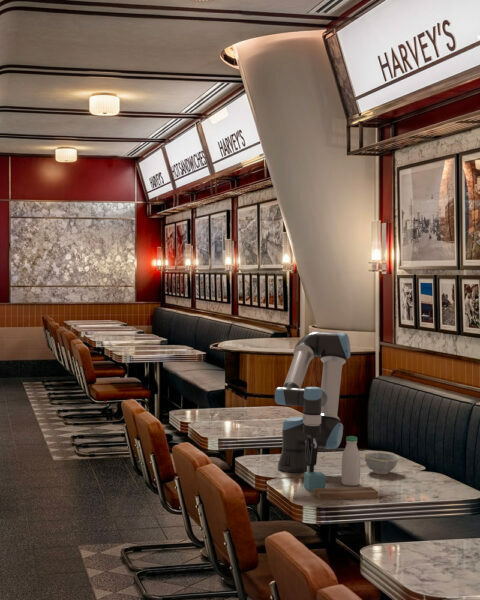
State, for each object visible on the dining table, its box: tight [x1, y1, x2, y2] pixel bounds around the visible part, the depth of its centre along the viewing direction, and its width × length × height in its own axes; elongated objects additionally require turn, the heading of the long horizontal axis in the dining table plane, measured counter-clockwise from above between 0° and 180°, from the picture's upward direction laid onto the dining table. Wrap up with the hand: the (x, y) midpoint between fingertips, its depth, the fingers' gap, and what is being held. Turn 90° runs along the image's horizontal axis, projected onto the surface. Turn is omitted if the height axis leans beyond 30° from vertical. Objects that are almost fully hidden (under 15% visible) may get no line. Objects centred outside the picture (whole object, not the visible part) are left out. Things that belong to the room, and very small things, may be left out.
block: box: [303, 471, 327, 492], centre depth 363 cm, size 7×7×6 cm
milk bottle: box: [340, 435, 361, 487], centre depth 372 cm, size 8×8×20 cm
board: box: [313, 486, 379, 501], centre depth 351 cm, size 8×24×2 cm, turn 102°
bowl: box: [363, 452, 400, 475], centre depth 395 cm, size 16×16×8 cm
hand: (310, 480), depth 368 cm, fingers closed
